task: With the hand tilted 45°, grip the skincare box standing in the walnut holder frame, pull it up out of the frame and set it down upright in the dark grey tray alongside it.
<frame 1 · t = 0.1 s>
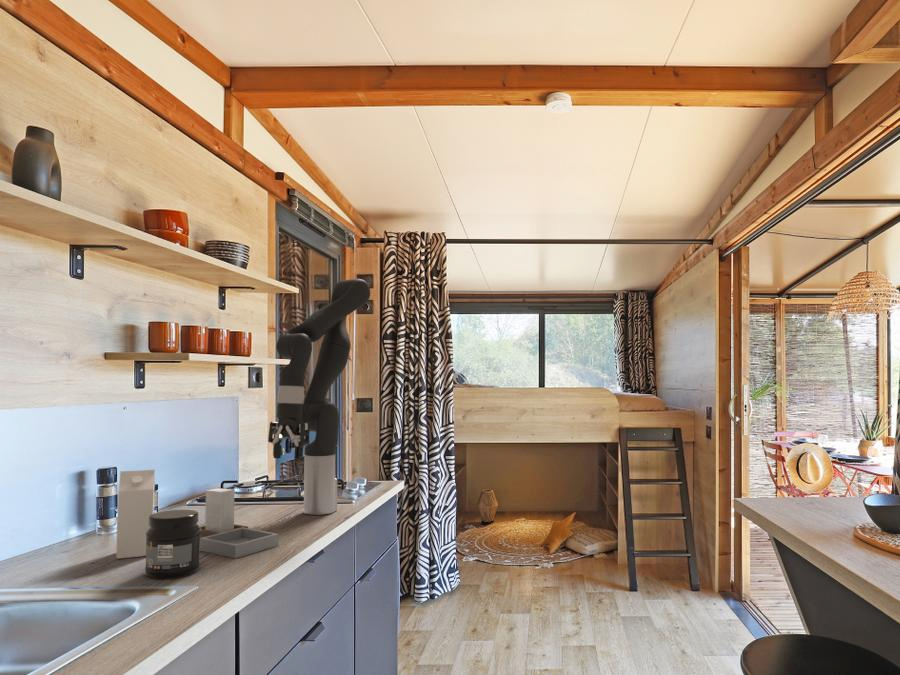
hand: (287, 459, 180), 17 cm above the countertop, fingers open, 8 cm apart
tray: (239, 548, 150), on the countertop
holder: (219, 537, 160), on the countertop
milk carton: (134, 554, 145), on the countertop
skincare box: (219, 538, 160), resting in holder
supplement container: (172, 573, 131), on the countertop
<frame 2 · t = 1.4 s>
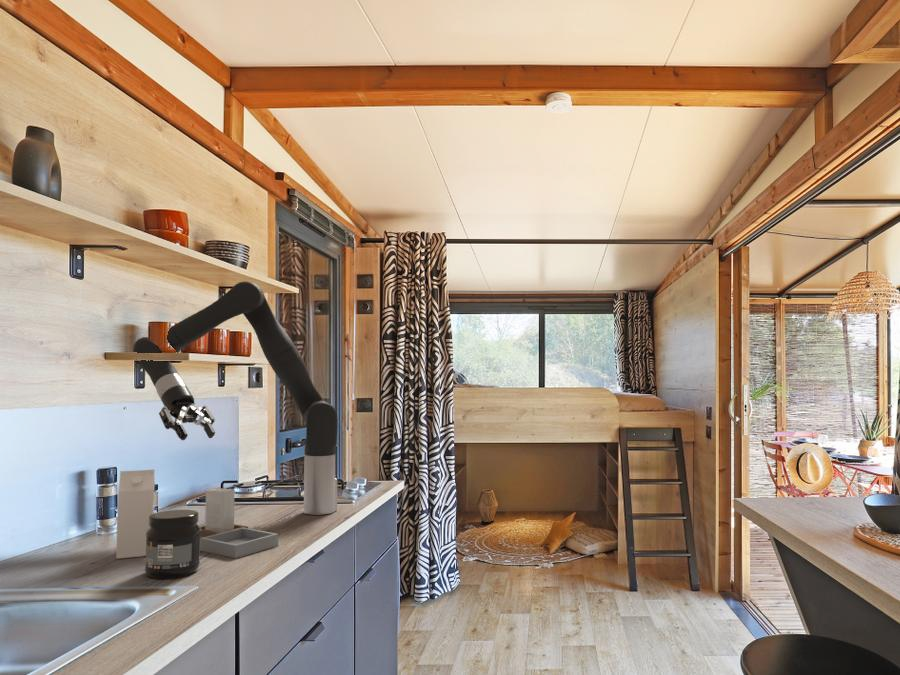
hand: (199, 437, 169), 25 cm above the countertop, fingers open, 8 cm apart
nothing on the countertop moved.
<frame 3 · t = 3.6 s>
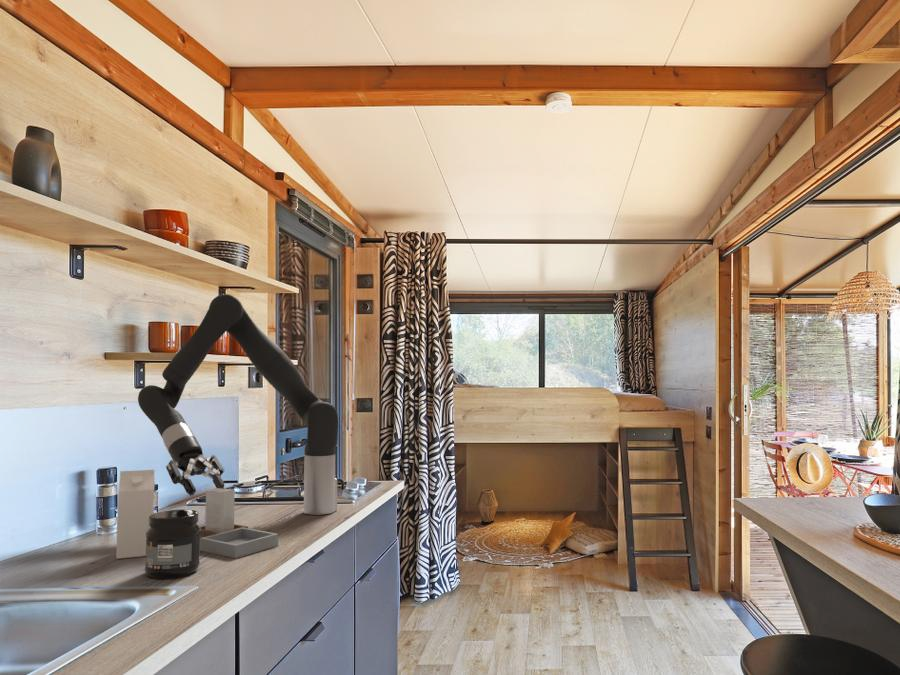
hand: (207, 490, 163), 11 cm above the countertop, fingers open, 8 cm apart
nothing on the countertop moved.
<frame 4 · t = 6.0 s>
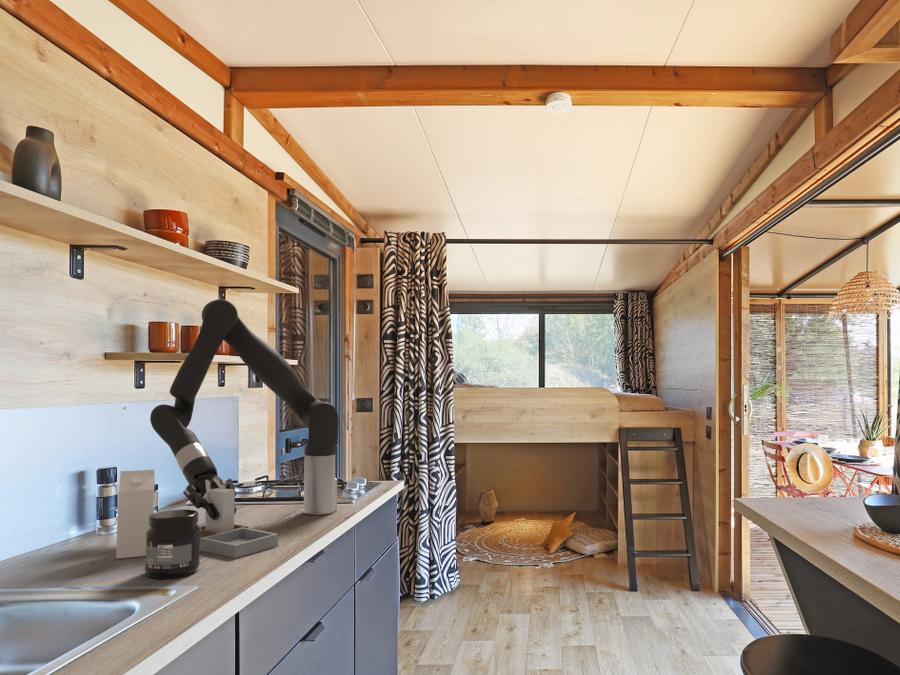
hand: (225, 515, 159), 6 cm above the countertop, fingers closed on skincare box, 4 cm apart
skincare box: (219, 538, 160), resting in holder, touching gripper
everything else where it was.
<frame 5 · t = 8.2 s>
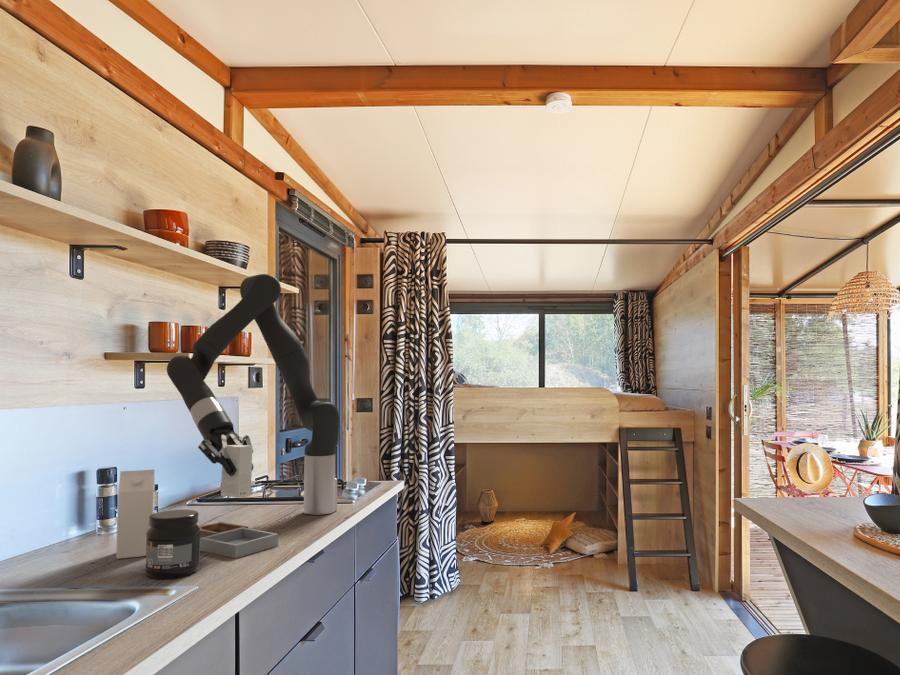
hand: (242, 472, 151), 18 cm above the countertop, fingers closed on skincare box, 4 cm apart
skincare box: (235, 496, 151), point 12 cm above the countertop, touching gripper
everything else where it was.
when the fingers open (7 cm above the countertop, at t = 10.7 s): skincare box stays where it is, resting on tray.
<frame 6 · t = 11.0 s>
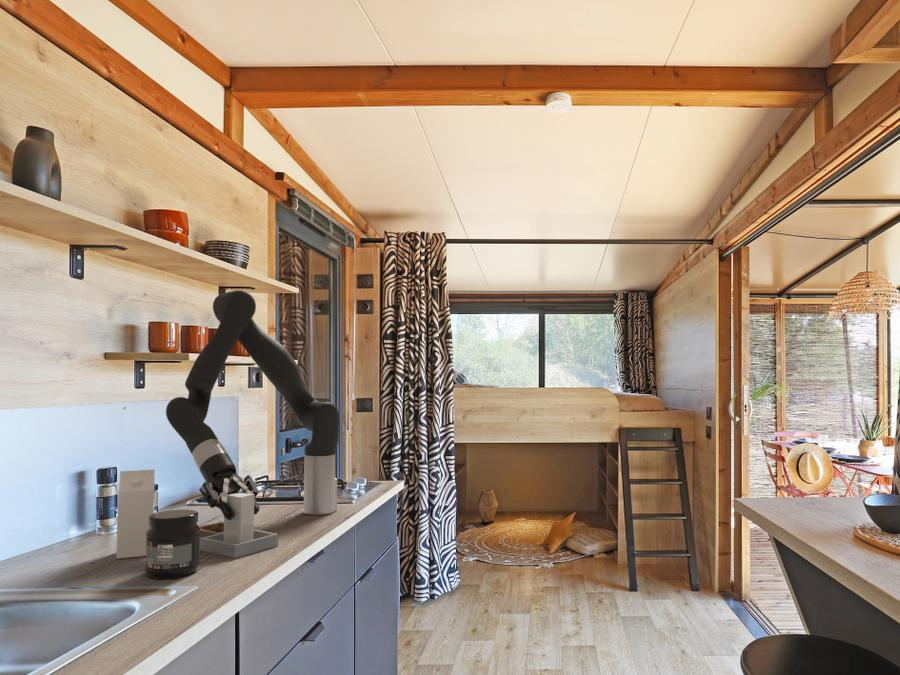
hand: (244, 515, 150), 8 cm above the countertop, fingers open, 6 cm apart
skincare box: (238, 546, 150), resting on tray
everything else where it was.
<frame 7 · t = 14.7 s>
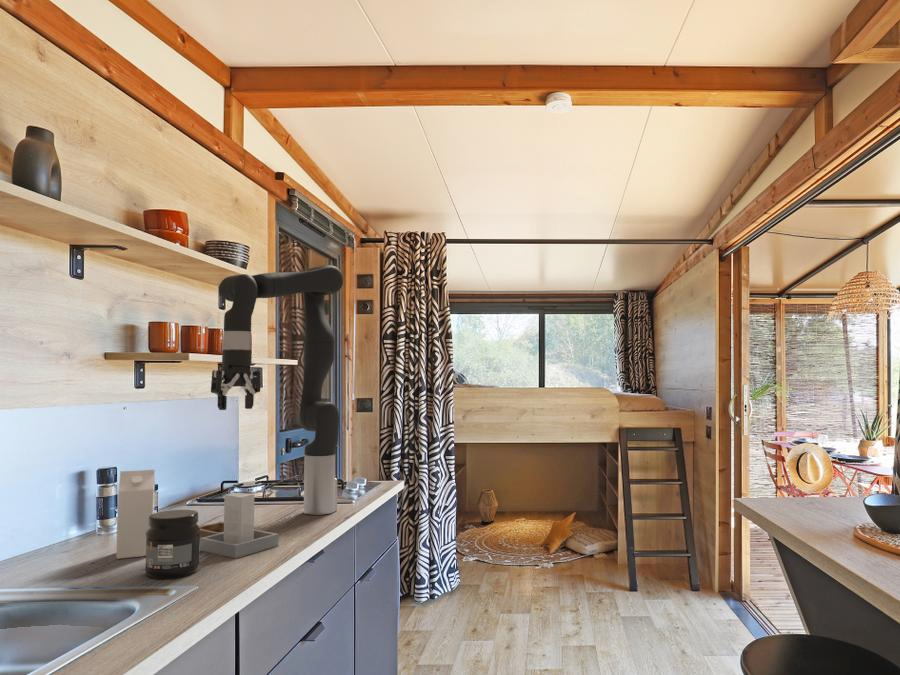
hand: (235, 409, 168), 32 cm above the countertop, fingers open, 8 cm apart
nothing on the countertop moved.
at the end: skincare box inside the target area on the tray (0.2 cm from its centre), point 0.4 cm above the tray's base; skincare box tilted 0°; the gripper is holding nothing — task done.
